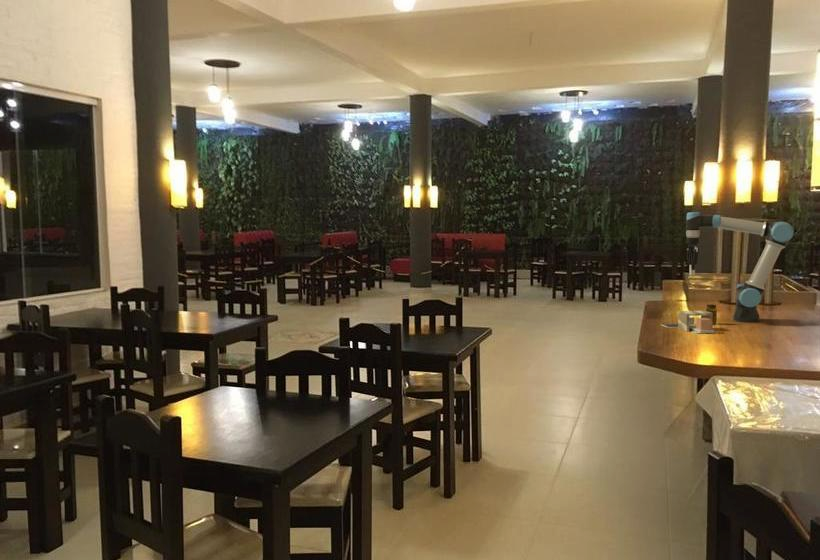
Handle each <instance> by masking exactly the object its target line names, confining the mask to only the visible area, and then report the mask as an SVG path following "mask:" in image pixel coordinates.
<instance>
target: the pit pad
mask: <svg viewBox="0 0 820 560" xmlns="http://www.w3.org/2000/svg"><path fill="white" fill-rule="evenodd" d="M662 326H663V327H664V328H665V327H666V328H670V329H671V328H675V329H676V328H678V323H673V324H672V323H670V324H661V327H662Z"/></svg>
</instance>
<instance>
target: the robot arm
mask: <svg viewBox="0 0 820 560" xmlns="http://www.w3.org/2000/svg"><path fill="white" fill-rule="evenodd" d="M685 222H686V226H685V228H686V232H685V236H686V238H685V239H686V240H685V242H686V244H687V247H686V248H685V251H686V257H687V264H688V265H689V276H695V275H696V265H697V264H698V258H699V252H700V248H698V245H699V243H700V238H699V237H700V232H701V230H700V228H713V229H721V230H726V231H734V232H739V233H747V234H753V235H760V237H762V238H765V242H766V244H765V246H764V249H763V250H762V252H761V255H760V257H759V259H758V261H757V263H756V265H755V267H754V269H753V271H752V272H751V275H750V278H749V279H748V280H746V281H745V282H744V283H738V284H737V285H736V298H735V299H736V300H735V301H736V303H735V305H736V306H735V310H734V312H733V315H732V321H734V322H735V321H736V322H741V323H742V322H744V323H754V322H755V323H758V322H760V320H761V318H760V314H759V310H758V305H760V303H761V301H762V296H763V294H764V292H765V287H764V286H765V284H766V283H767V280H768V277H769V276H770V274H771V272H772V270H773V267H774V265H775V264H776V262H777V259H778V257H779V255H780V253H781V251H782V250H783V249H785V248H786V247H787V245H788V243H789V242H790V240H791V239H792V238H793V236H794V228H793V226H792V225H791V224H789V223H788V222H786V221H767V220H766V221H764V222H762V221H756V220H755V221H753V220H748V219H741V218H734V217H727V216H721V214H705V215H704V214H700V211H693V212H692V211H691V212H687V213H686V221H685Z"/></svg>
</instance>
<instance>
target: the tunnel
mask: <svg viewBox="0 0 820 560" xmlns="http://www.w3.org/2000/svg"><path fill="white" fill-rule="evenodd" d="M696 316H697V317H698V316H700V318H708V319H711V320H712V319H713V313H711V312H707V311H706V310H678V318H677V319H678V321H677V322H678V323H677V324H678V327H677V328H678V329H679V330H682V331H685V332H690V329H689V317H696ZM711 329H712V330H713V325H712V322H711Z"/></svg>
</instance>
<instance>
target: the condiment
mask: <svg viewBox="0 0 820 560" xmlns="http://www.w3.org/2000/svg"><path fill="white" fill-rule="evenodd" d="M705 311H707V312H711V313H713V319H712V326H717V324H718V323H717V321H718V320H717V317H718V316H717V313H718V312H717V304H713V303H711V304H710V303H708V304H707V305H706V308H705Z"/></svg>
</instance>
